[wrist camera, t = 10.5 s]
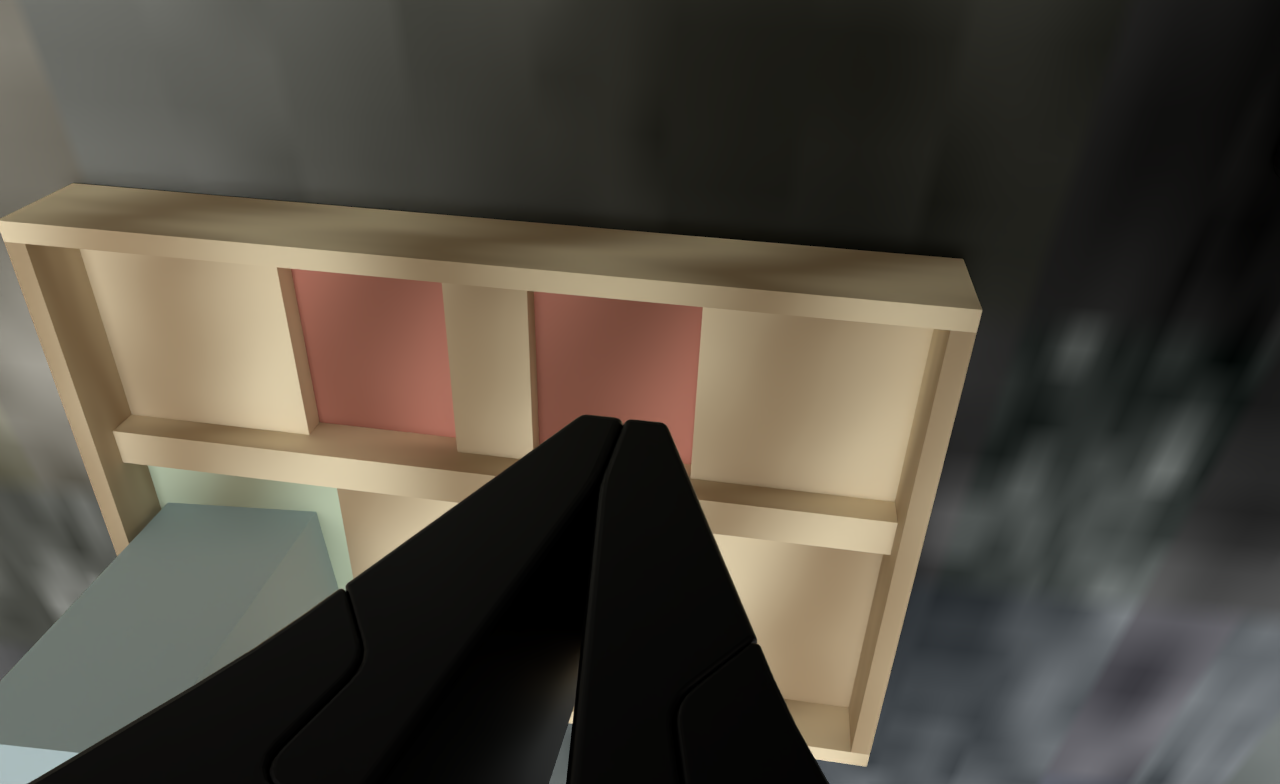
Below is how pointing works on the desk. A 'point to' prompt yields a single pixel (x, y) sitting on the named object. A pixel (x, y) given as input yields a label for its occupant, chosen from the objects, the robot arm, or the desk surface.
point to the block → (159, 626)
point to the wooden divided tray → (515, 388)
